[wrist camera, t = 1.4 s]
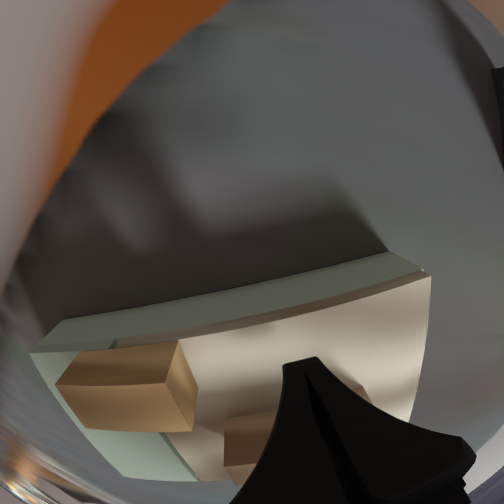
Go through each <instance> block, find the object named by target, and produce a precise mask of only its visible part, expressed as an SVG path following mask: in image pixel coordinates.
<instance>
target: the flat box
mask: <svg viewBox="0 0 504 504" xmlns="http://www.w3.org/2000/svg"><path fill="white" fill-rule="evenodd" d="M419 270H422V271H423V269H422V268H421V267H419V266H417V265H415V264H413V263H411V262H409V261H407V260H406V259H404V258H402V257H400V256H398V255H396V254H394V253H392V252H390V251H387V252H383V253H379V254H376V255H372V256H368V257H364V258H360V259H356V260H352V261H348V262H344V263H340V264H336V265H332V266H328V267H324V268H320V269H316V270H312V271H308V272H303V273H299V274H295V275H291V276H286V277H282V278H278V279H273V280H269V281H264V282H260V283H255V284H251V285H246V286H242V287H237V288H232V289H227V290H223V291H218V292H213V293H208V294H203V295H198V296H193V297H188V298H183V299H178V300H173V301H168V302H163V303H157V304H152V305H147V306H141V307H136V308H130V309H124V310H119V311H113V312H107V313H101V314H95V315H89V316H83V317H76V318H70V319H63V320H62V321H61V322H60V323H59V324H58V325H57V326H56V327H55V328H54V329H53V330H52V331H51V332H50V333H49V334H48V335H46V336H45V337H44V338H43V339H42V340H41V341H40V342H39V343H38V344H37V345H36V346H35V347H34V348H33V349H32V350H31V351H30V352H29V355H30V356H31V358H32V360H33V362H34V364H35V365H36V367H37V369H38V370H39V372H40V374H41V375H42V377H43V379H44V380H45V382H46V383H47V385H48V387H49V388H50V390H51V391H52V393H53V394H54V396H55V397H56V399H57V400H58V401H59V403H60V404H61V406H62V407H63V408H64V410H65V411H66V412H67V414H68V415H69V416H70V418H71V419H72V420H73V422H74V423H75V424H76V425H77V427H78V428H79V429H80V430H81V432H82V433H83V434H84V435H85V436H86V438H87V439H88V440H89V441H90V442H91V443H92V444H93V446H94V447H95V448H96V449H97V450H98V451H99V452H100V453H101V454H102V455H103V456H104V457H105V458H106V459H107V461H108V462H109V463H110V464H111V465H112V466H113V467H114V468H115V469H117V470H118V471H119V472H120V473H121V474H122V475H123V476H124V477H129V478H138V479H148V480H161V481H198V476H197V475H196V473H195V472H194V471H193V470H192V469H191V467H190V466H189V465H188V464H187V462H186V461H185V460H184V459H183V457H182V456H181V455H180V453H179V452H178V451H177V449H176V448H175V447H174V445H173V444H172V443H171V441H170V440H169V439H168V437H167V436H166V434H165V433H164V432H124V431H109V430H98V429H88V428H85V427H84V426H83V424H82V423H81V422H80V420H79V419H78V418H77V416H76V415H75V414H74V412H73V411H72V410H71V408H70V407H69V406H68V404H67V403H66V401H65V400H64V398H63V397H62V396H61V394H60V393H59V391H58V390H57V388H56V386H55V383H56V382H57V380H58V379H59V378H60V376H61V375H62V374H63V372H64V371H65V370H66V369H67V367H68V366H69V365H70V363H71V362H72V361H73V360H74V358H75V357H76V356H77V354H78V353H79V352H83V351H95V350H107V349H115V346H116V345H117V343H118V342H119V340H120V339H121V338H123V337H131V336H138V335H145V334H152V333H159V332H165V331H172V330H178V329H184V328H190V327H195V326H201V325H206V324H212V323H217V322H222V321H227V320H233V319H237V318H242V317H247V316H252V315H257V314H261V313H266V312H270V311H275V310H279V309H283V308H288V307H292V306H296V305H300V304H304V303H308V302H312V301H316V300H320V299H324V298H328V297H331V296H335V295H339V294H343V293H346V292H350V291H353V290H357V289H360V288H364V287H367V286H371V285H374V284H378V283H381V282H384V281H388V280H391V279H394V278H397V277H400V276H404V275H407V274H410V273H413V272H416V271H419Z"/></svg>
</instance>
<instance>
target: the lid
mask: <svg viewBox="0 0 504 504" xmlns="http://www.w3.org/2000/svg"><path fill="white" fill-rule="evenodd" d="M430 290H431V275H429V274H427V273H425V272H423V271H422V270H419V271H416V272H413V273H410V274H407V275H404V276H400V277H397V278H394V279H391V280H388V281H384V282H381V283H378V284H374V285H371V286H367V287H364V288H360V289H357V290H353V291H350V292H346V293H343V294H339V295H335V296H331V297H328V298H324V299H320V300H316V301H312V302H308V303H304V304H300V305H296V306H292V307H288V308H283V309H279V310H275V311H270V312H266V313H261V314H257V315H252V316H247V317H242V318H237V319H233V320H227V321H222V322H217V323H212V324H206V325H201V326H195V327H190V328H184V329H178V330H172V331H165V332H159V333H152V334H145V335H138V336H131V337H123V338H121V339H120V340H119V342H118V343H117V345H116V346H115V349H117V348H126V347H135V346H143V345H151V344H158V343H166V342H172V341H179V343H180V346H181V348H182V351H183V353H184V355H185V358H186V360H187V363H188V365H189V367H190V370H191V372H192V374H193V377H194V379H195V381H196V383H197V385H198V394H197V400H196V407H195V414H194V421H193V428H192V431H185V432H164V433H165V434H166V436H167V437H168V439H169V440H170V441H171V443H172V444H173V445H174V447H175V448H176V449H177V451H178V452H179V453H180V455H181V456H182V457H183V459H184V460H185V461H186V462H187V464H188V465H189V466H190V467H191V469H192V470H193V471H194V472H195V473H196V475H197V476H198V477H199V478H200V479H201V480H202V481H220V480H233V481H234V483H235V484H236V485H244V484H245V482H246V480H247V479H248V477H249V476H250V474H251V473H252V471H253V469H254V468H255V466H256V464H257V462H258V460H259V458H260V456H261V454H262V452H263V450H264V448H265V446H266V444H267V441H268V439H269V436H270V433H271V431H272V428H273V425H274V422H275V418H276V414H277V411H278V407H279V402H280V396H281V390H282V380H283V371H282V366H283V365H284V364H285V363H289V362H294V361H298V360H302V359H306V358H310V357H313V356H316V357H318V358H319V359H320V360H321V361H322V363H323V364H324V365H325V366H326V367H327V368H328V369H329V370H330V371H331V372H332V373H333V374H334V375H335V376H336V377H337V378H338V379H339V380H341V381H342V382H343V383H344V384H345V385H347V386H348V387H349V388H350V389H351V390H353V391H354V392H355V393H357V394H358V395H359V396H361V397H362V398H363V399H365V400H366V401H368V402H369V403H371V404H372V405H374V406H376V407H377V408H379V409H381V410H383V411H384V412H386V413H388V414H390V415H392V416H394V417H396V418H398V419H401V420H403V421H405V422H409V418H410V415H411V411H412V407H413V404H414V400H415V395H416V391H417V387H418V382H419V377H420V372H421V367H422V361H423V355H424V349H425V342H426V335H427V326H428V317H429V306H430Z"/></svg>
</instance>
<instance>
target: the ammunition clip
mask: <svg viewBox="0 0 504 504" xmlns="http://www.w3.org/2000/svg"><path fill="white" fill-rule="evenodd" d="M491 72H492V76H493V81H494V85H495V90H496V95H497V100H498V106H499V112H500V120H501V128H502V137H503V150H504V67H502V68H497V69H492V71H491Z"/></svg>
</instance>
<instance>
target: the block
mask: <svg viewBox="0 0 504 504" xmlns="http://www.w3.org/2000/svg"><path fill="white" fill-rule="evenodd" d="M55 386H56V388H57V390H58V391H59V393H60V394H61V396H62V397H63V398H64V400H65V401H66V403H67V404H68V406H69V407H70V408H71V410H72V411H73V412H74V414H75V415H76V416H77V418H78V419H79V420H80V422H81V423H82V424H83V426H84V427H85V428H88V429H98V430H109V431H124V432H185V431H192V428H193V421H194V414H195V407H196V400H197V394H198V385H197V383H196V381H195V379H194V377H193V374H192V372H191V370H190V367H189V365H188V363H187V360H186V358H185V355H184V353H183V351H182V348H181V346H180V343H179V341H172V342H166V343H158V344H151V345H143V346H135V347H126V348H117V349H107V350H95V351H83V352H79V353H78V354H77V356H76V357H75V358H74V360H73V361H72V362H71V363H70V365H69V366H68V367H67V369H66V370H65V371H64V372H63V374H62V375H61V376H60V378H59V379H58V380H57V382H56V383H55Z"/></svg>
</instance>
